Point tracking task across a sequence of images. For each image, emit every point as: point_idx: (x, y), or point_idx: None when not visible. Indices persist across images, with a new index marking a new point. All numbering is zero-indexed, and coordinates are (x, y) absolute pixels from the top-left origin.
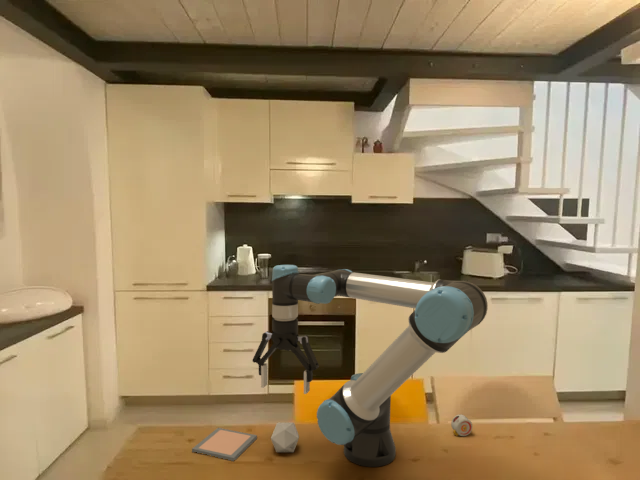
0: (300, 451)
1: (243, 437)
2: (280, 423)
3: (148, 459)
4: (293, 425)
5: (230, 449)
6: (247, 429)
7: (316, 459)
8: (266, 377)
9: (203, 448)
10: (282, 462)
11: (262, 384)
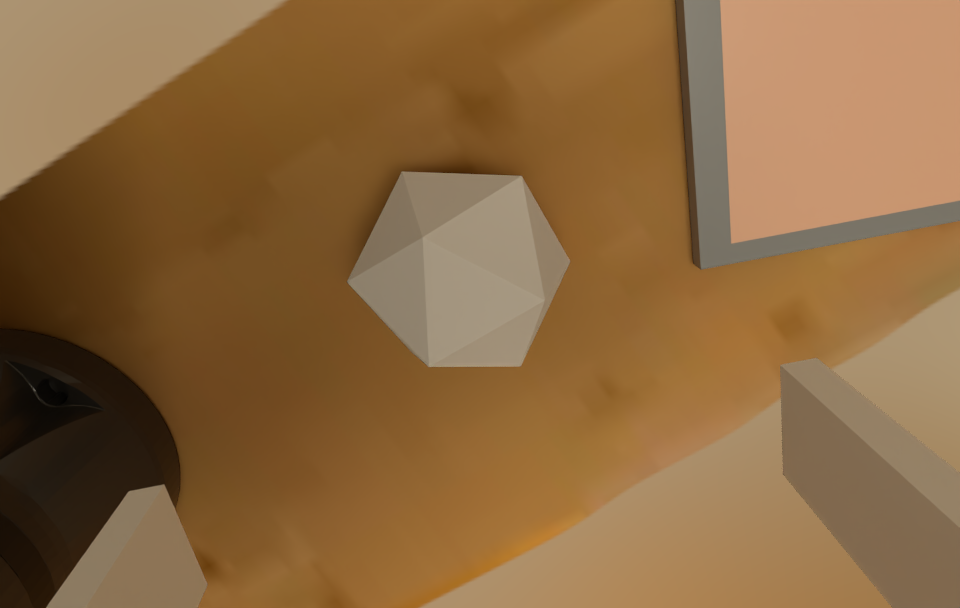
0: None
1: (766, 201)
2: (512, 301)
3: None
4: (415, 339)
5: (762, 22)
6: (806, 319)
7: (232, 254)
8: (847, 523)
9: None
10: (385, 114)
11: (821, 384)
